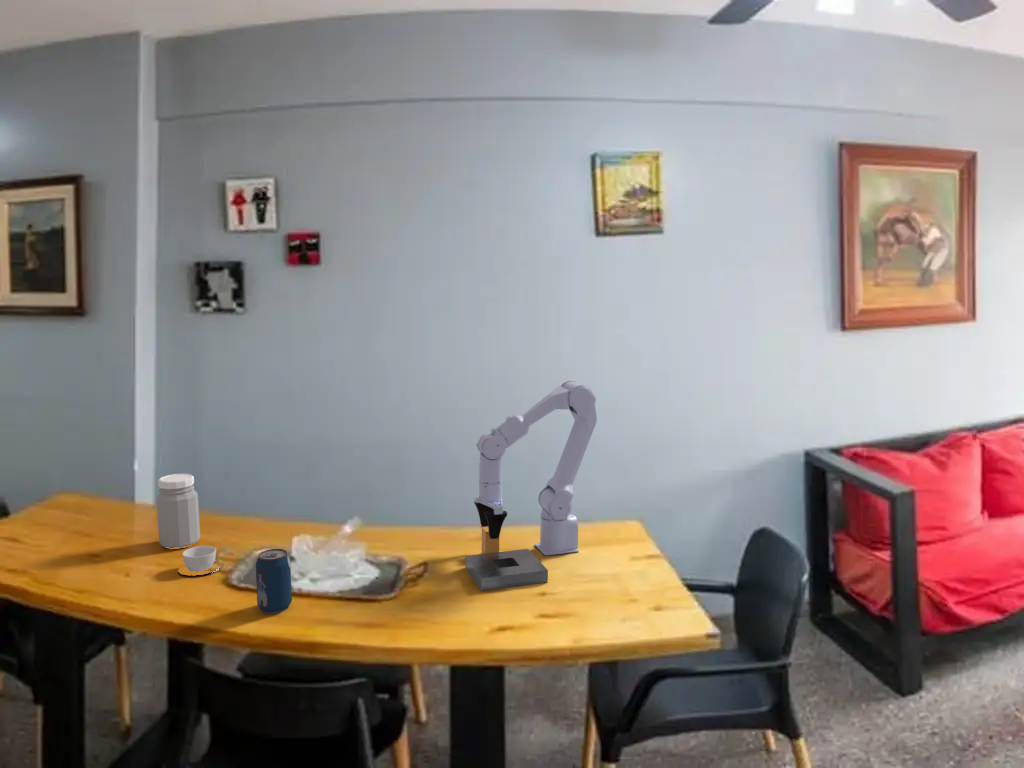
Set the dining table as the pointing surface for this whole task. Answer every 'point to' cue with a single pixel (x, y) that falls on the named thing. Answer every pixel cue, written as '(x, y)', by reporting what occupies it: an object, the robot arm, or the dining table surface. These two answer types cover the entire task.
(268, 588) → the soda can
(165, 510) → the jar
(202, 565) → the teacup
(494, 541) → the peach rectangular block
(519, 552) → the gray block with hole
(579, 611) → the dining table surface
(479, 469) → the robot arm
